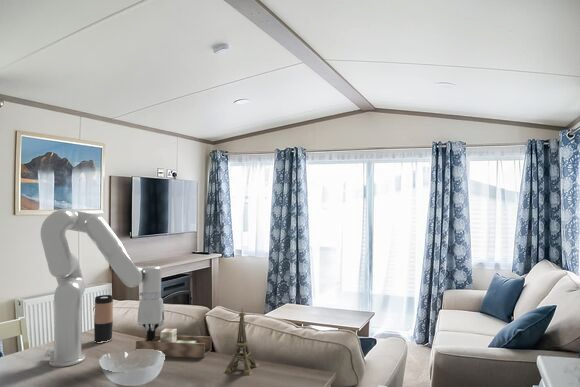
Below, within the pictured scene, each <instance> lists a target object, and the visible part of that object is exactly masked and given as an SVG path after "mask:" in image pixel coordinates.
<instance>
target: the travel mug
mask: <svg viewBox="0 0 580 387" xmlns="http://www.w3.org/2000/svg"><path fill="white" fill-rule="evenodd" d="M113 314H114V296H113V295H112V294H104V295H103V294H101V295H96V296H95V298H94V319H93V320H94V322H93V324H94V325H93V326H94V329H93V330H94V333H93V334H94V342H95V341H96V342H101V341H107V340H110V339H111V338H112V339H113V322H114V321H113V320H114V315H113Z"/></svg>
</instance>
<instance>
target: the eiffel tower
mask: <svg viewBox="0 0 580 387" xmlns="http://www.w3.org/2000/svg"><path fill="white" fill-rule="evenodd" d="M245 316H246V312H245V311H244V312H243V309H241V311H240V312H239V314H238V317H239V322H238V323H239V324H238V330H237V331H238V332H237V340H236V342H235V344H234V345H235V350H234V353H233V354H232V359H231V360H230V361H229V363H228V365H227V366H226V368H225V369H224V371H222V373H223V374H231V373H232V372H233V371H234V366H239V365H240V364H241V362H242V364H243V369H244V372H243V376H252V374H253V373H254V371H252V368H258V367H259V366H260V363H258V362H257V360H256V359H255V358H254V357H253V356H252V354H251V351H250V349H249V345H248V344H249V340H247V333H246V324H245ZM241 349H242V351H241ZM248 362H249V363H250V365H249V363H248Z"/></svg>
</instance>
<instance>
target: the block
mask: <svg viewBox="0 0 580 387" xmlns="http://www.w3.org/2000/svg"><path fill="white" fill-rule="evenodd" d="M177 332H178V329H177V328H164V329H163V330H161V331H160V332H159V333H160V334H159V335H160V342H176V341H177V336H178V335H177V334H178V333H177Z"/></svg>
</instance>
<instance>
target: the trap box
mask: <svg viewBox="0 0 580 387" xmlns="http://www.w3.org/2000/svg"><path fill="white" fill-rule="evenodd" d="M136 349H154V350H159V351H162V352H163V353H164V354H165V355H166V356H165V357H169V358H170V357H175V358H177V357H178V358H196V359H198V358H199V359H202V358H203V359H205V358H206V356H208V354H209V353H210V352H211V351H212V336H207V335H206V336H202V335H201V336H200V335H198V336H197V335H177V341H176V342H160V334H155V338H154V339H153V340H152V341H150V340H149V341H148V338H147V333H146V334H145V338H144V339H143V340H136V341H135V350H136Z"/></svg>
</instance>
